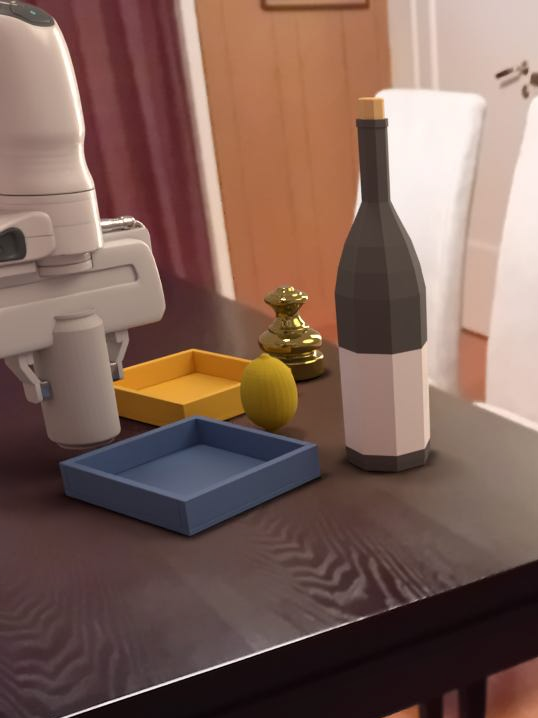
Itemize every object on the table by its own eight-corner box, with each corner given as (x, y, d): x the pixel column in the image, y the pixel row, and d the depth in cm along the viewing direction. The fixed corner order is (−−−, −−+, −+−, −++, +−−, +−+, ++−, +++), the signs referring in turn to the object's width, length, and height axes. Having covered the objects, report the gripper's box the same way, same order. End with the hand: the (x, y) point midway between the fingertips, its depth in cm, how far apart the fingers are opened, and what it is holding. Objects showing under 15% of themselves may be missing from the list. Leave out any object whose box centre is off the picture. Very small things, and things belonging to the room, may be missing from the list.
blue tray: (65, 495, 88) (58, 462, 86) (200, 444, 99) (196, 414, 97) (190, 536, 80) (184, 501, 79) (320, 476, 91) (318, 444, 90)
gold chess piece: (288, 362, 124) (280, 277, 119) (337, 370, 121) (330, 283, 116) (248, 377, 119) (237, 289, 114) (298, 386, 115) (289, 295, 110)
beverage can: (34, 445, 92) (4, 310, 86) (85, 424, 97) (61, 296, 91) (86, 456, 90) (60, 319, 84) (137, 435, 95) (115, 304, 89)
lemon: (312, 433, 101) (305, 353, 97) (267, 446, 98) (257, 364, 94) (279, 421, 105) (270, 343, 101) (234, 434, 101) (223, 354, 97)
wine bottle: (401, 478, 91) (384, 101, 75) (329, 463, 94) (298, 99, 79) (447, 451, 97) (440, 96, 81) (377, 437, 100) (358, 95, 85)
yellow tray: (87, 407, 109) (81, 380, 107) (196, 373, 120) (192, 348, 119) (187, 433, 101) (182, 404, 100) (293, 395, 113) (291, 368, 111)
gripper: (122, 209, 93) (145, 359, 100) (-93, 238, 78) (-48, 412, 85) (168, 216, 90) (189, 370, 97) (-46, 247, 75) (-3, 426, 82)
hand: (76, 390), depth 91 cm, fingers closed on beverage can, 6 cm apart
